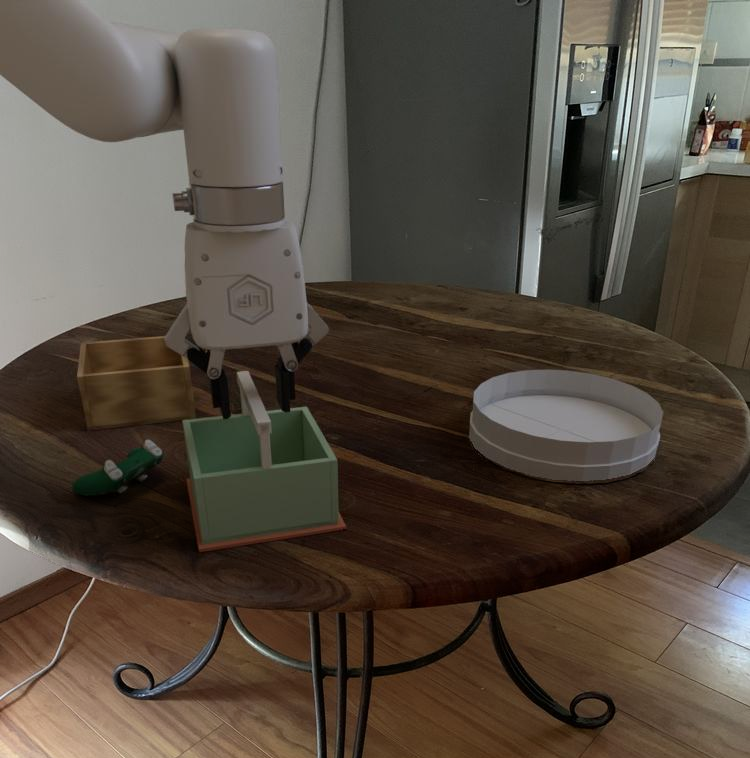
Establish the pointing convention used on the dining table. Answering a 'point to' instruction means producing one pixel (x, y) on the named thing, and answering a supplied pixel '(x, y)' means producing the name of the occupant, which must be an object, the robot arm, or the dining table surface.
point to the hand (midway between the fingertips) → (254, 408)
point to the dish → (565, 425)
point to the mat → (259, 538)
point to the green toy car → (120, 472)
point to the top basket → (260, 471)
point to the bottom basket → (133, 383)
